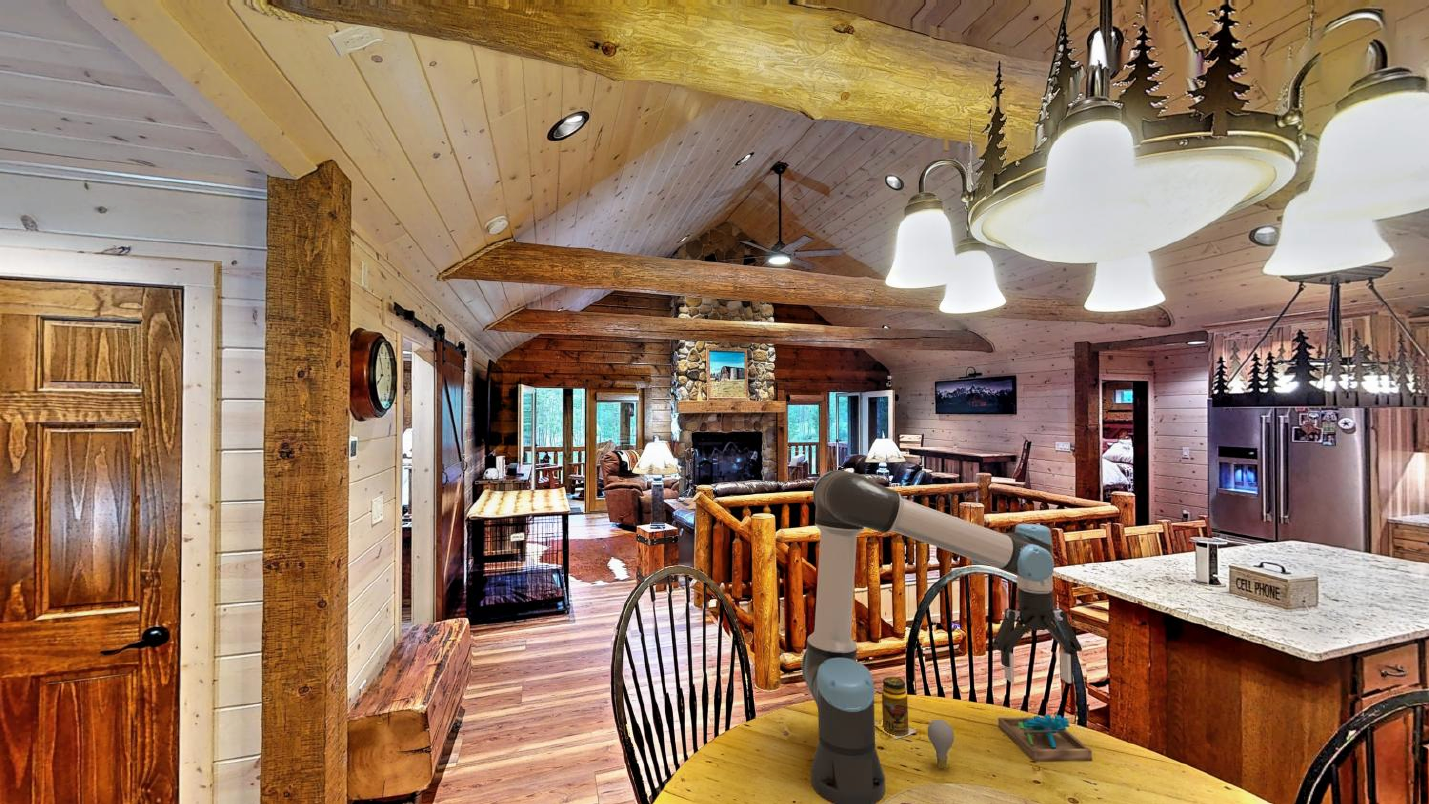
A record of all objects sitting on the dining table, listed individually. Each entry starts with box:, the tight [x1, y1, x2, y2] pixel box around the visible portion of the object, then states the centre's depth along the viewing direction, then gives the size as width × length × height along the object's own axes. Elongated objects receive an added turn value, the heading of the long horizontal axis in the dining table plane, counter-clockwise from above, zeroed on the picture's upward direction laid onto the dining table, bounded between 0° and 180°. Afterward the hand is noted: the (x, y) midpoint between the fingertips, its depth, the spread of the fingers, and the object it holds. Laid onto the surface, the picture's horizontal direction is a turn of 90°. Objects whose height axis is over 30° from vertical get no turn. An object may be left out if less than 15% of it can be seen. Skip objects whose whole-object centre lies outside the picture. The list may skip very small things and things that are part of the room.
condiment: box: [875, 676, 918, 740], centre depth 137 cm, size 7×8×12 cm
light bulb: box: [927, 718, 955, 770], centre depth 120 cm, size 6×6×10 cm
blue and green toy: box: [1018, 713, 1071, 749], centre depth 128 cm, size 11×6×10 cm
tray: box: [997, 716, 1093, 763], centre depth 130 cm, size 13×15×2 cm
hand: (1037, 680), depth 131 cm, fingers open, 13 cm apart
